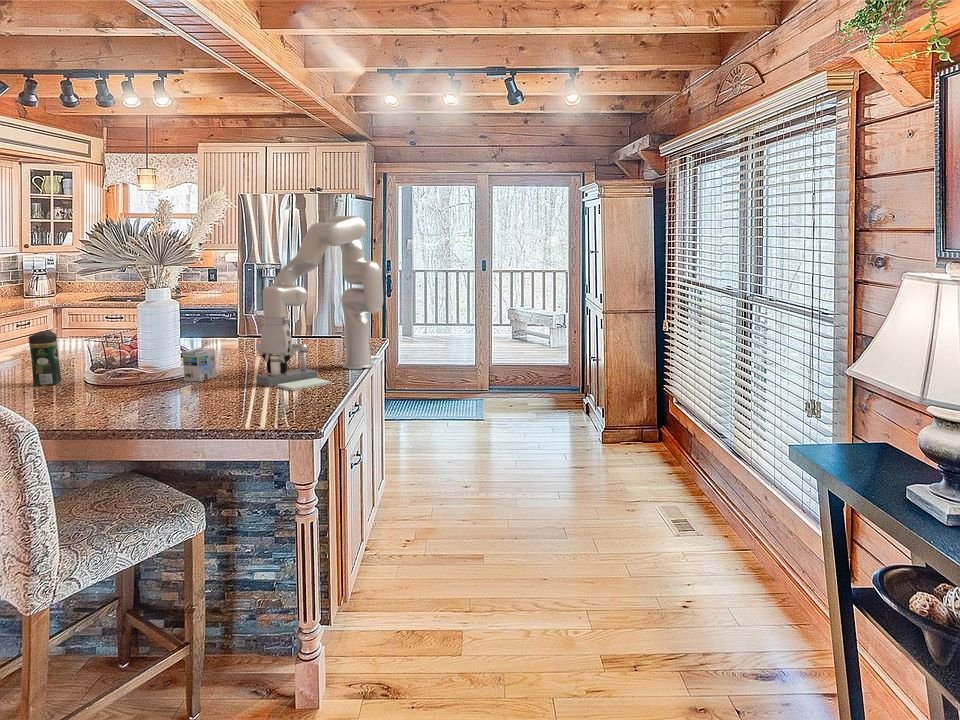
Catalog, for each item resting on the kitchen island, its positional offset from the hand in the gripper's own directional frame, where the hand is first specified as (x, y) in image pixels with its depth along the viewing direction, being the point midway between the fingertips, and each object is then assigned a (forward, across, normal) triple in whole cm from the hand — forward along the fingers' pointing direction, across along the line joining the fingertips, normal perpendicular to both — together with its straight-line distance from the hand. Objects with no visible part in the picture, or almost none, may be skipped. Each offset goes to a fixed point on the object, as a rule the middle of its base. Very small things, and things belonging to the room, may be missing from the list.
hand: (277, 372), depth 255 cm
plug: (+4, 0, 0) cm, 4 cm away
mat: (+4, -11, +2) cm, 12 cm away
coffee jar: (+4, +77, +20) cm, 80 cm away
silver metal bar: (-6, +3, -9) cm, 12 cm away
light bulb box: (+4, +31, 0) cm, 31 cm away
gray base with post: (+4, -2, -4) cm, 6 cm away
